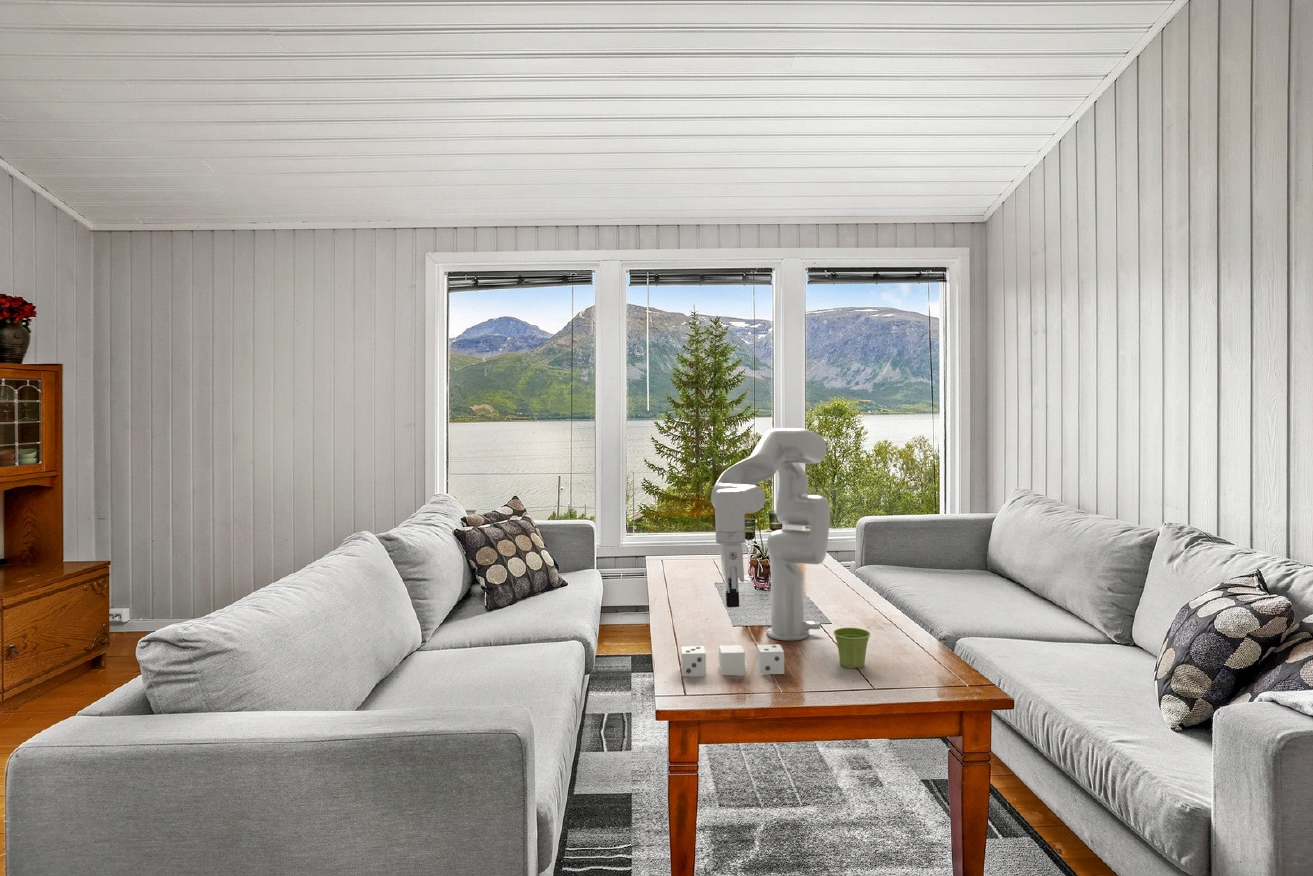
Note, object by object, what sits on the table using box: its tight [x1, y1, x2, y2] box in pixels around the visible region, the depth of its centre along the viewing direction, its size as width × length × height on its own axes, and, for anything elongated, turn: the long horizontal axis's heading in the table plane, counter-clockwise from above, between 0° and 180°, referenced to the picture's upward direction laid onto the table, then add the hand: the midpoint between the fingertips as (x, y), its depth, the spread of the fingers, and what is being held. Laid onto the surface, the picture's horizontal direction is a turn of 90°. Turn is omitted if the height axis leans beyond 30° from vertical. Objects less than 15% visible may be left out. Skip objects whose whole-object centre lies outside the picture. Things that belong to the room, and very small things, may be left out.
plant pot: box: [833, 627, 871, 669], centre depth 205 cm, size 9×9×9 cm
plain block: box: [718, 644, 746, 676], centre depth 202 cm, size 6×6×6 cm
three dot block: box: [680, 645, 707, 677], centre depth 201 cm, size 6×6×6 cm
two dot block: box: [756, 643, 785, 675], centre depth 202 cm, size 6×6×6 cm
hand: (732, 606), depth 202 cm, fingers closed
